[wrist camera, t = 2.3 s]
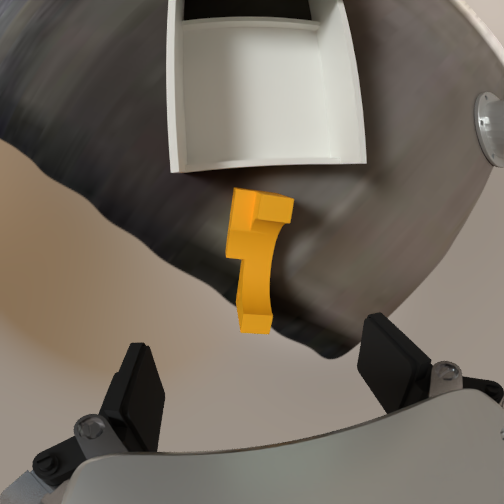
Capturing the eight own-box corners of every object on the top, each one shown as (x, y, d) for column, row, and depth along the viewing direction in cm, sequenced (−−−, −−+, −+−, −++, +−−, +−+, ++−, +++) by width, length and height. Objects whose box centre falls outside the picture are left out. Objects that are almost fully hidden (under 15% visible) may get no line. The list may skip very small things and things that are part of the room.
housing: (299, -51, 18) (313, -80, 11) (333, 164, 27) (366, 163, 20) (183, -52, 16) (179, -84, 10) (183, 173, 26) (171, 172, 19)
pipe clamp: (234, 187, 27) (238, 191, 21) (277, 193, 27) (294, 199, 21) (219, 299, 30) (220, 331, 24) (259, 302, 30) (269, 334, 24)
